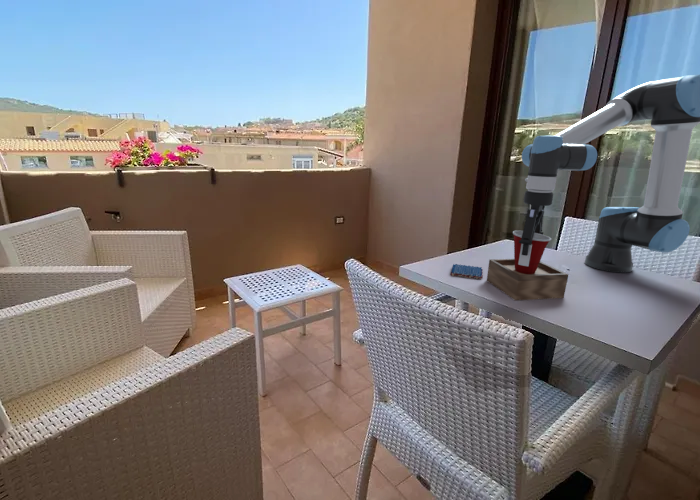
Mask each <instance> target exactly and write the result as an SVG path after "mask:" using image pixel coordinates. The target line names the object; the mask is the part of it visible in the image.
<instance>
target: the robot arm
mask: <svg viewBox="0 0 700 500" xmlns="http://www.w3.org/2000/svg"><path fill="white" fill-rule="evenodd" d="M647 120H651V121H650V127H651V128H652V129H653V130H654V131H655V133H654V140H653V147H652V153H651V159H650V165H649V172H648V177H647V184H646V190H645V196H644V202H643V205H642V206H641V207H637V206H635V207H634V206H606V207H604V208H602V209H601V212H600V215H599V216H598V217H599V218H598V222H597V227H596V233H595V236H594V242H593V245H592V247H591V248H590V251H589V252H588V254H587V255H586V256H585V257H584V258H585V259H584V264H585V265H587V266H588V267H590V268H593V269H598V270H601V271H604V272H605V271H606V272H613V273H630V272H632V271H633V269H634V263H633V258H632V256H633V255H632V249H633V248H632V246H634V247H637V248H642V249H645V250H649V251H651V252H658V253H662V254H663V253H664V254H667V253H668V254H669V253H671V252H673V251H675V250H677V249H679V247H681V246H682V245H683V243H685V241H686V240H687V238H688V236H689V234H690V231H691V229H690V228H691V227H690V226H691V225H690V224H689V221H686V220H685V219H683V214H684V212H683V210H682V209H681V208H680V207H679V202H680V196H681V191H682V187H683V180H684V175H685V169H686V166H687V165H686V164H687V161H688V160H687V159H688V154H689V150H690V143H691V138H692V133H693V129H694V128H696V127H697V126H698V125H699V124H700V74H687V75H683V76H677V77H670V78H665V79H664V78H663V79H660V80H652V81H651V80H650V81H648V82H645V83H642V84H640V85H637V86H635V87H632V88H630V89H628V90H627V91H625V92H623V93H621V94H619V95H617V96H616V97H613V98H612V99H610V100H608V102H607V103H606V104H605V106H604V107H603V108H600V109H598V110H597V111H595V112H593V113H592V114H590V115H588V116H587V117H584V118H583V119H580V120H579V121H577V122H575V123H574V124H572V125H570V126H568V127H567V128H565V129H563V130H562V131H560V132H558V133H556V134H555V135H537V136H535V137H534V139H533V142H532V143H531V144H528V145H527V146H525V147H524V149H523V150H522V152H521V161H522V163H523V165H525V166H526V167H528V172H527V177H526V178H525V179H524V181H525V182H526V184H525V185H526V186H525V189H526V191H524V197H523V203H524V204H526V205H530V207H529V209H527V211H526V212H527V213H526V218H525V222H524V225H523V226H524V227H523V230H522V231H523V234H522V238H521V240H519V243H521V250H520V256H519V263H518V265H523V266H529V260H530V254H531V249H532V240H533V236H534V233H538V234H542V235H544V232H543V224H544V214H545V207H549V206H551V205H552V204H553V198H554V193H553V191H555V188H556V182H557V178H558V177H557V176H558V172H559V171H577V172H579V171H587V170H590V169H591V168H592V167H594V166H595V164H596V163H597V158H598V151H597V149H596V147H595V146H593V145H591V144H588V143H589V142H590V143H591V141H593V140H595V139H597V138H598V137H600V136H602V135H603V134H605V133H607V132H608V131H611V130H613V129H614V128H616V127H623V126H626V125H628V124H629V123H632V122H636V121H637V122H638V121H647Z"/></svg>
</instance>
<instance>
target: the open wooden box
mask: <svg viewBox="0 0 700 500" xmlns="http://www.w3.org/2000/svg"><path fill="white" fill-rule="evenodd" d="M487 269H488V270H487V275H486V282H488V283H489V284H490V285H492V286H493V287H495V288H496V289H498V290H500V291H501V292H502V293H503V294H505V295H506V296H508V297H510V299H512V300H514V301H530V300H531V301H532V300H550V299H553V300H554V299H565V293H566V289H567V283H568V278H569V274H568V273H566V272H564V271H562V270H560V269H557V268H556V267H553V266H552V265H549V264H547V263H546V262H542V261H541V260H540V263H539V264H538V267H537V270H536V271H535V273H534V274H524V273H520V272H517V271H516V270H515V260H514V258H498V259H490V258H489V259H488V268H487Z"/></svg>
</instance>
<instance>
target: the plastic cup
mask: <svg viewBox="0 0 700 500" xmlns="http://www.w3.org/2000/svg"><path fill="white" fill-rule="evenodd" d="M522 234H523V230H513V231H512V235H513V246H514V247H513V248H514V249H513V251H514V254H513V255H514V258H513V259H514V260H515V270H516V271H517V272H520V273H524V274H534V273H535V271H536V270H537V267H538V264H539V263H540V261H541V260H542V257H543V254H544V252H545V250H546V248H547V246H548V244H549V242H551V241H552V238H551V237H550V236H548V235H544V234H543V235H542V234H538V233H534V236H533V240H532V249H531V254H530V260H529V266H523V265H518V263H519V256H520V250H521V243H519V240H521V238H522Z"/></svg>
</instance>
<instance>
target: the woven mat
mask: <svg viewBox="0 0 700 500" xmlns="http://www.w3.org/2000/svg"><path fill="white" fill-rule="evenodd" d="M482 268H483V267H480V266H473V265H472V266H471V265H466V264H457V263H453V265H452V267H451V271H450V275H451V276H452V277H459V278H461V277H462V278H465V279H468V278H469V279H475V280H478V279H479V280H481V281H482V279H483V276H484V275H483V272H484V271H483V269H482Z"/></svg>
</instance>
